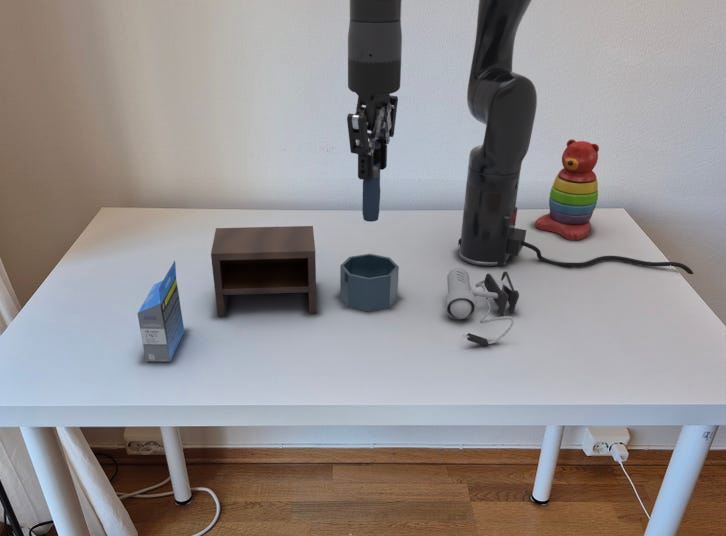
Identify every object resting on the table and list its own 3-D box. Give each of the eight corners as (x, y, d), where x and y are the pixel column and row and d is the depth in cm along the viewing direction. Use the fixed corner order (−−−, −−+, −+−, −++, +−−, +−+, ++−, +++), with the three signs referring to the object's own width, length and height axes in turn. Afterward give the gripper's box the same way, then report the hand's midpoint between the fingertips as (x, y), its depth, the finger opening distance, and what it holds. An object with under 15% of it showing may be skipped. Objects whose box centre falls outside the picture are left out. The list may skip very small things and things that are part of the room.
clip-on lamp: (519, 363, 108) (507, 288, 121) (531, 334, 104) (517, 258, 116) (444, 355, 108) (439, 280, 120) (452, 326, 103) (446, 251, 116)
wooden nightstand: (314, 285, 123) (312, 225, 117) (316, 313, 115) (315, 250, 109) (222, 288, 122) (215, 228, 116) (217, 317, 114) (210, 253, 107)
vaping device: (380, 210, 114) (382, 135, 107) (378, 222, 109) (380, 145, 103) (364, 209, 114) (365, 134, 107) (361, 222, 109) (362, 144, 103)
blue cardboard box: (160, 331, 110) (149, 258, 103) (185, 331, 110) (175, 259, 103) (144, 362, 102) (131, 287, 96) (171, 363, 102) (159, 287, 96)
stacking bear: (530, 226, 146) (544, 140, 137) (557, 214, 152) (573, 131, 142) (575, 242, 140) (593, 153, 130) (602, 229, 146) (621, 143, 136)
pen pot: (402, 292, 122) (404, 260, 118) (383, 315, 115) (384, 282, 111) (355, 281, 125) (355, 250, 121) (333, 304, 118) (333, 271, 114)
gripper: (380, 66, 92) (377, 192, 101) (417, 48, 103) (411, 163, 112) (328, 61, 94) (330, 185, 104) (369, 44, 105) (368, 157, 114)
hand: (372, 173), depth 108 cm, fingers closed on vaping device, 5 cm apart
